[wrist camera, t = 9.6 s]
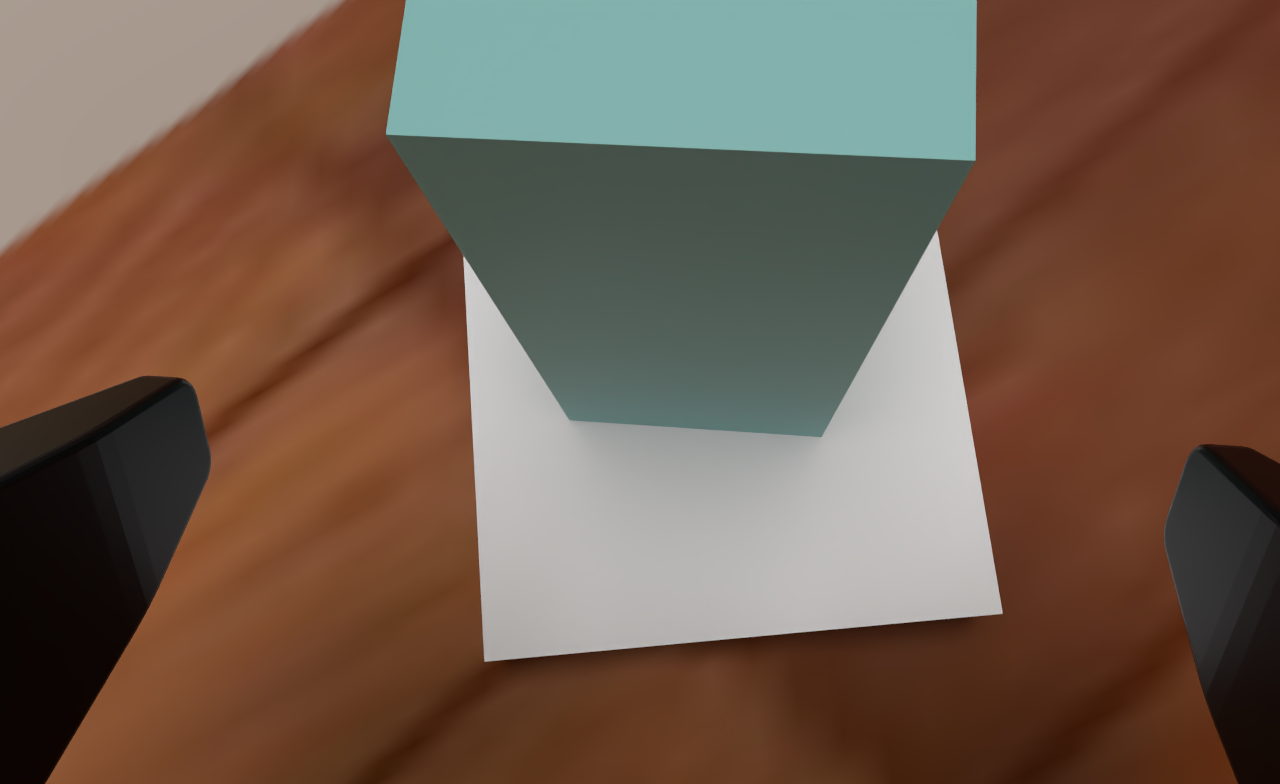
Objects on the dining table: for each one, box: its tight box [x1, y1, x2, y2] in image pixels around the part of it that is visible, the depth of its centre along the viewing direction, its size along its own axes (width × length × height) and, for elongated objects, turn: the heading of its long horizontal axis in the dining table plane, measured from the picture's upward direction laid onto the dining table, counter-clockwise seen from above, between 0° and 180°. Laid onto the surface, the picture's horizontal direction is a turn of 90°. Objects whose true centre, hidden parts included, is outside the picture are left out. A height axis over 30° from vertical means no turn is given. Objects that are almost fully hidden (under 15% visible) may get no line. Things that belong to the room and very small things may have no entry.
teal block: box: [386, 0, 977, 437], centre depth 14 cm, size 5×5×11 cm
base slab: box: [463, 231, 1003, 662], centre depth 20 cm, size 12×9×2 cm
